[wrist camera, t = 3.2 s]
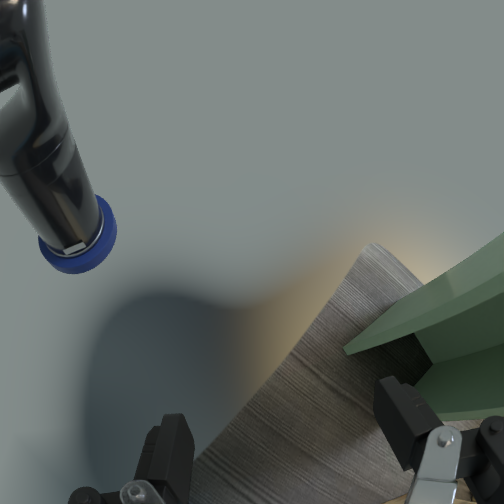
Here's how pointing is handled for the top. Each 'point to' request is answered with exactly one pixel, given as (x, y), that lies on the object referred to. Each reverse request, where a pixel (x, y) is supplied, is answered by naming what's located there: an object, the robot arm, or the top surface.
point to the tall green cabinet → (454, 335)
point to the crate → (399, 502)
